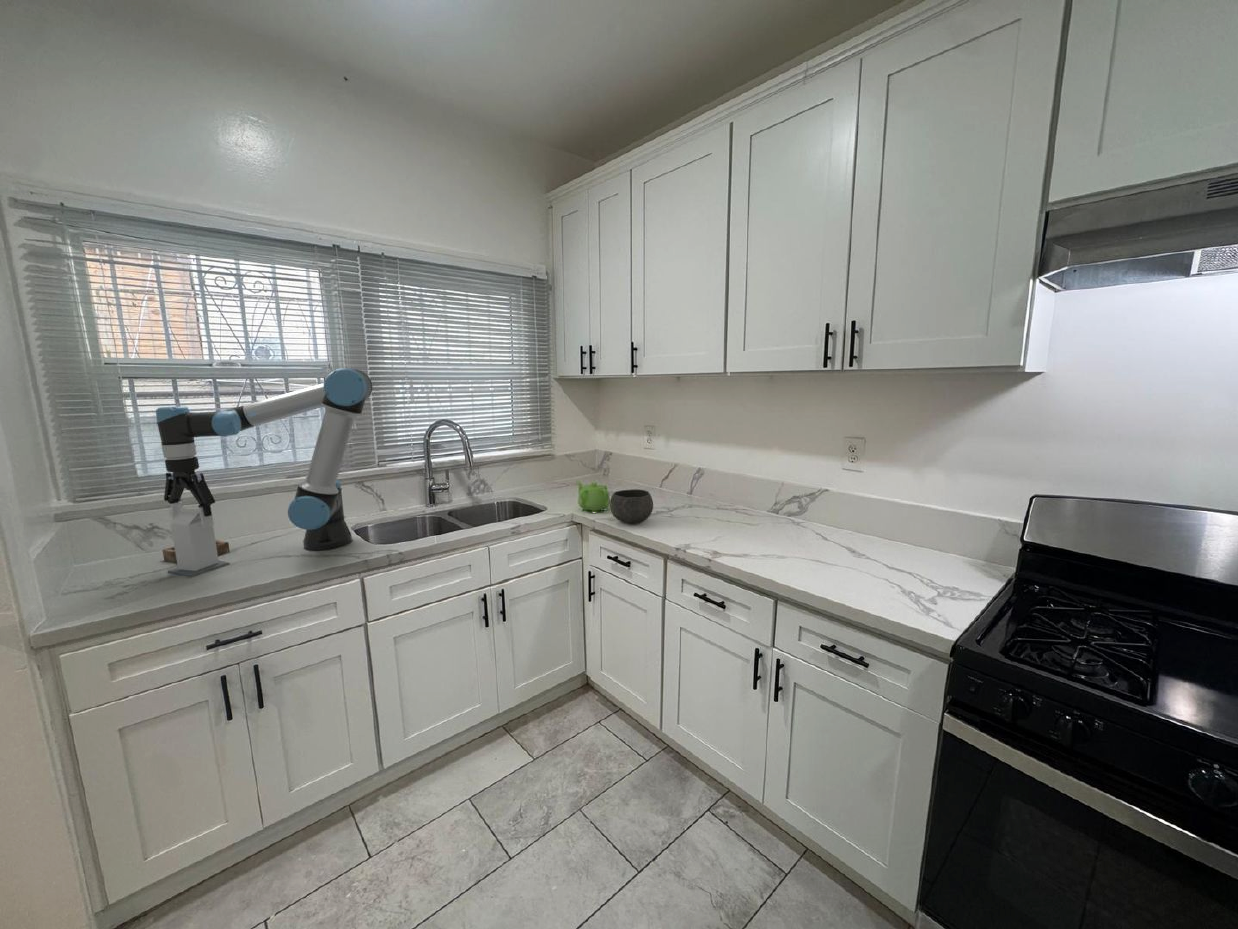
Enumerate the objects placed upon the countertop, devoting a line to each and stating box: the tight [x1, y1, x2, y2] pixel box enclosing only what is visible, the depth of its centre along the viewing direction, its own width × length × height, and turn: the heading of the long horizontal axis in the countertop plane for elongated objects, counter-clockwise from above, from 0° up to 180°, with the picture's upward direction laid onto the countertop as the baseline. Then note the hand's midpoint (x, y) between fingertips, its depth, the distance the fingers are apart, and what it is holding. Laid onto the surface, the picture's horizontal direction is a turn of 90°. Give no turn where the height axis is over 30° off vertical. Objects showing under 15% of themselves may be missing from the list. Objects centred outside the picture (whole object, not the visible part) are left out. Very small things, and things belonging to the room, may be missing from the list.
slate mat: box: [167, 560, 230, 578], centre depth 154 cm, size 11×11×1 cm
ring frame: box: [162, 539, 231, 563], centre depth 165 cm, size 12×12×4 cm
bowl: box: [609, 488, 654, 525], centre depth 200 cm, size 18×18×13 cm
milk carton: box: [170, 507, 220, 571], centre depth 152 cm, size 7×7×19 cm
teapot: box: [575, 480, 611, 513], centre depth 219 cm, size 16×14×13 cm
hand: (193, 524), depth 152 cm, fingers open, 13 cm apart
